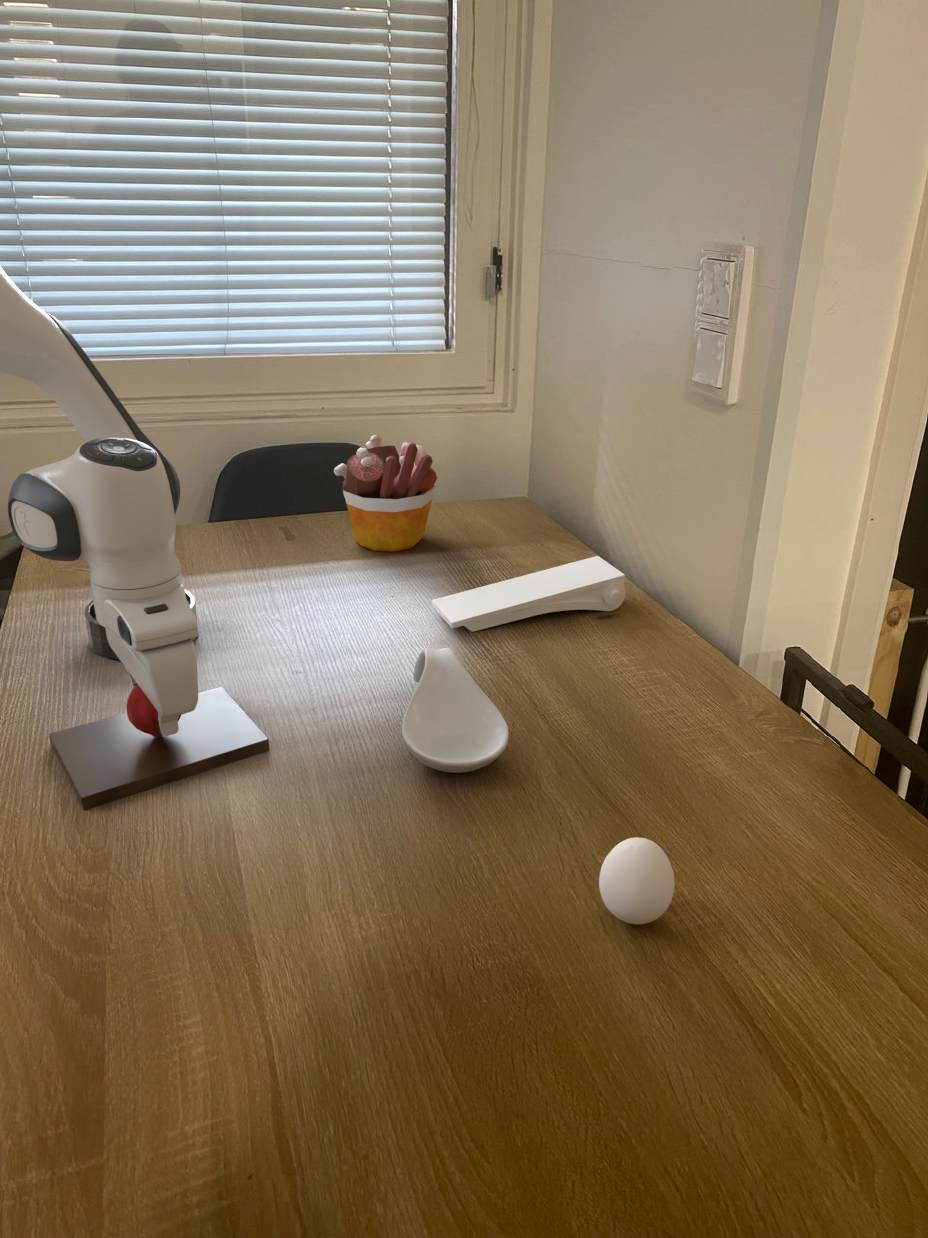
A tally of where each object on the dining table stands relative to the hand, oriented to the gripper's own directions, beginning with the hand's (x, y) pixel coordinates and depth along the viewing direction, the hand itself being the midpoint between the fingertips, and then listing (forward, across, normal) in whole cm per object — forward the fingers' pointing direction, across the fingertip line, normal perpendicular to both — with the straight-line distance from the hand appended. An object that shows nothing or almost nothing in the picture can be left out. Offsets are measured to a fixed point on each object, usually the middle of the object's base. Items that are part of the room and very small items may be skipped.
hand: (155, 714), depth 100 cm
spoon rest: (+4, +14, +29) cm, 32 cm away
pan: (+4, -28, +7) cm, 29 cm away
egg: (+4, +48, +26) cm, 55 cm away
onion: (+3, 0, 0) cm, 3 cm away
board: (+4, 0, 0) cm, 4 cm away
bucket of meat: (+5, -43, +55) cm, 70 cm away
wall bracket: (+4, -7, +58) cm, 59 cm away
